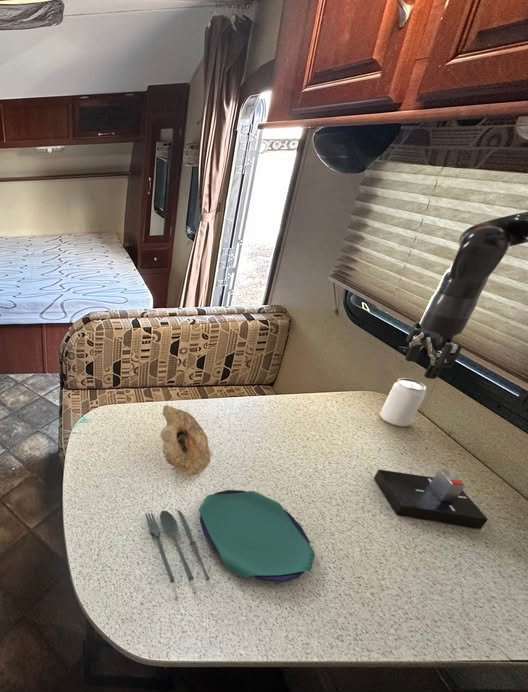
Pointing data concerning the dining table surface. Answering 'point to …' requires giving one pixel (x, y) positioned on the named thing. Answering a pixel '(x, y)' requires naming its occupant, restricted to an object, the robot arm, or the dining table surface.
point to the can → (403, 402)
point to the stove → (426, 500)
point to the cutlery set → (245, 536)
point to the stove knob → (446, 485)
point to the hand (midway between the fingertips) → (419, 368)
